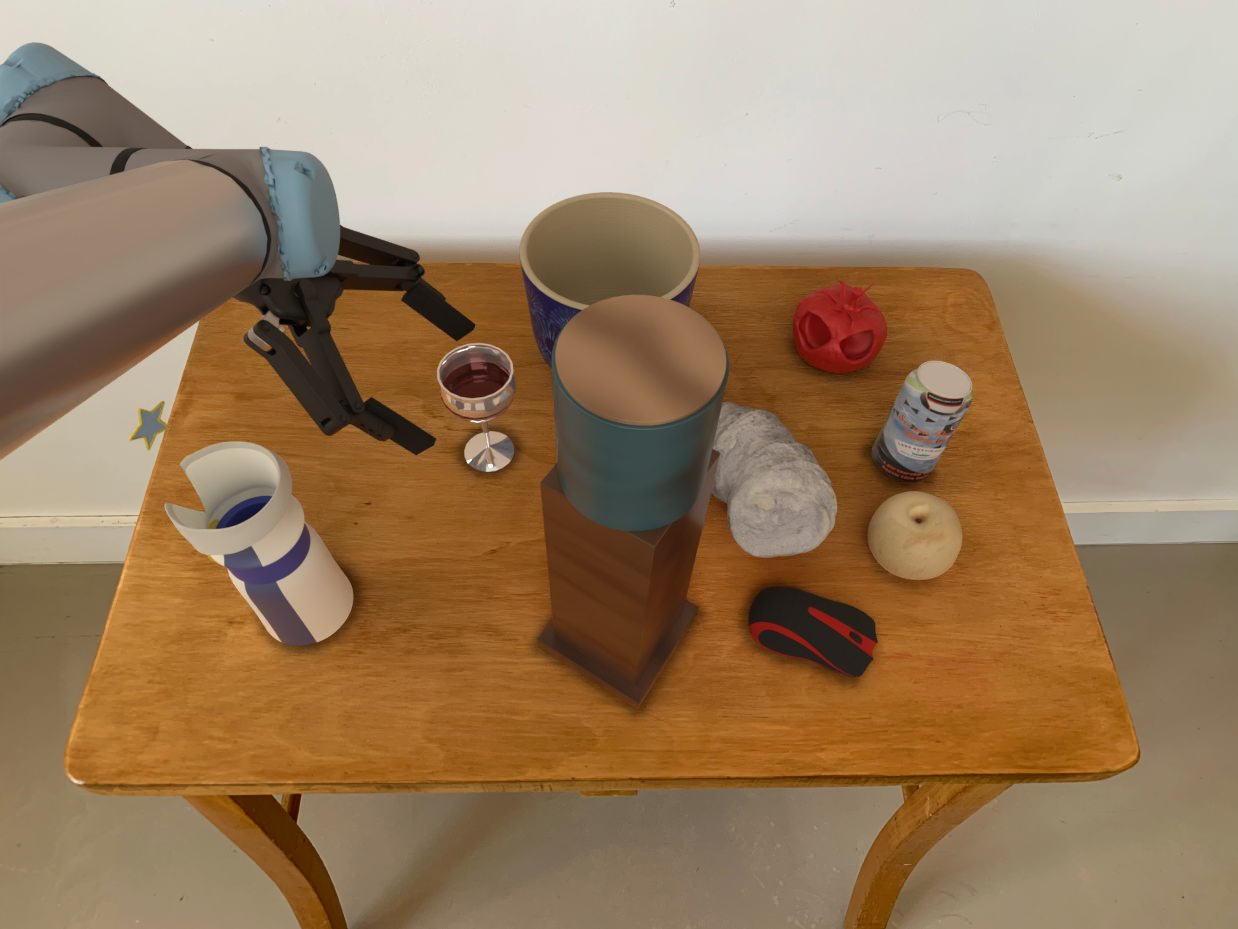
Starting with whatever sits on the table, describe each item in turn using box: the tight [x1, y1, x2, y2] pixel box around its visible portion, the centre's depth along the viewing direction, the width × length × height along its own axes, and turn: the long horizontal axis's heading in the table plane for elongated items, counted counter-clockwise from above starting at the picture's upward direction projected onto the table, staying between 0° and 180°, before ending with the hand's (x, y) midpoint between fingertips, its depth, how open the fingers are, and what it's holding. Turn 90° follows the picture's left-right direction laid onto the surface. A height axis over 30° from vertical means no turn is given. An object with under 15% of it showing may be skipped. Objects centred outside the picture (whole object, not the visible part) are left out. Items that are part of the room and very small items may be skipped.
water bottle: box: [127, 400, 354, 647], centre depth 58 cm, size 8×9×25 cm
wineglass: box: [436, 342, 517, 473], centre depth 74 cm, size 7×7×12 cm
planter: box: [518, 191, 701, 370], centre depth 80 cm, size 17×17×15 cm
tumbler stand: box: [536, 295, 730, 711], centre depth 54 cm, size 10×10×35 cm
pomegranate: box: [791, 276, 888, 374], centre depth 84 cm, size 10×10×9 cm
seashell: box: [711, 401, 838, 559], centre depth 73 cm, size 16×15×10 cm
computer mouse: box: [748, 585, 879, 678], centre depth 67 cm, size 6×11×4 cm, turn 67°
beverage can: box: [871, 360, 973, 483], centre depth 75 cm, size 6×7×12 cm
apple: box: [867, 490, 964, 581], centre depth 71 cm, size 8×8×8 cm
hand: (447, 387), depth 71 cm, fingers open, 13 cm apart
